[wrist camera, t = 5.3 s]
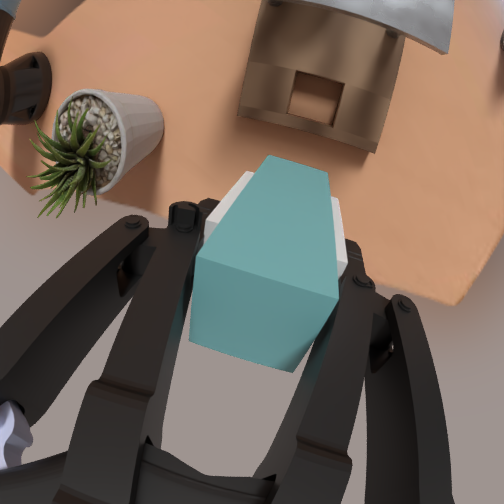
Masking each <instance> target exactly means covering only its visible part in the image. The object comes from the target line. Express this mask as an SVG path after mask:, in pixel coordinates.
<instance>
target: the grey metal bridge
mask: <svg viewBox="0 0 504 504" xmlns="http://www.w3.org/2000/svg"><path fill="white" fill-rule="evenodd" d="M267 1H268V3H269V4H270V5H271V6H274V7H277V6H280V5H281V4H282V3H283V1H284V2H291V3H297V4H302V5H307V6H312V7H317V8H321V9H325V10H330V11H333V12H337V13H341V14H344V15H348V16H351V17H354V18H358V19H361V20H364V21H367V22H370V23H373V24H375V25H378V26H381V27H383V28H386V33H387V34H388V36H390V37H391V38H398V37H399V36H401V35H403V36H405V37H407V38H410V39H412V40H414V41H416V42H418V43H420V44H422V45H424V46H426V47H428V48H430V49H432V50H434V51H436V52H438V53H439V54H441V55H445V54H448V50H449V44H450V37H451V30H452V22H453V12H454V0H267Z"/></svg>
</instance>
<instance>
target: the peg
mask: <svg viewBox="0 0 504 504" xmlns="http://www.w3.org/2000/svg"><path fill="white" fill-rule="evenodd" d="M338 300H339V289H338V270H337V255H336V243H335V231H334V221H333V211H332V203H331V194H330V186H329V179H328V173H327V172H324V171H321V170H318V169H315V168H312V167H309V166H306V165H302V164H299V163H296V162H292V161H289V160H286V159H282V158H279V157H275V156H271V155H268V156H267V158H266V159H265V160H264V162H263V163H262V164H261V166H260V167H259V168H258V170H257V171H256V172H255V174H254V175H253V176H252V178H251V179H250V180H249V182H248V183H247V184H246V186H245V187H244V189H243V190H242V191H241V193H240V194H239V195H238V197H237V198H236V200H235V201H234V202H233V204H232V205H231V207H230V208H229V209H228V211H227V212H226V214H225V215H224V216H223V218H222V219H221V221H220V222H219V223H218V225H217V226H216V228H215V229H214V231H213V232H212V234H211V235H210V236H209V238H208V239H207V241H206V242H205V244H204V245H203V247H202V248H201V249H200V251H199V252H198V254H197V255H196V263H195V272H194V283H193V294H192V305H191V319H190V333H189V341H190V342H193V343H196V344H198V345H201V346H204V347H207V348H210V349H213V350H216V351H219V352H222V353H225V354H228V355H231V356H234V357H238V358H241V359H244V360H247V361H251V362H254V363H257V364H261V365H265V366H268V367H272V368H275V369H279V370H283V371H287V372H291V373H293V372H294V370H295V369H296V368H297V366H298V365H299V363H300V362H301V360H302V359H303V357H304V355H305V354H306V352H307V351H308V349H309V348H310V346H311V345H312V343H313V342H314V340H315V338H316V337H317V335H318V334H319V332H320V330H321V329H322V327H323V326H324V324H325V322H326V321H327V319H328V317H329V316H330V314H331V312H332V310H333V309H334V307H335V305H336V304H337V302H338Z"/></svg>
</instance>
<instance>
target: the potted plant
mask: <svg viewBox="0 0 504 504" xmlns="http://www.w3.org/2000/svg"><path fill="white" fill-rule="evenodd" d="M34 121H35V120H34ZM35 125H36V128H37V130H38V132H39V134H40V135H41V136H42V137H43V139H44V140H45V142H46V143H45V142H43V141H42V139H41V138H40V136H39V134H38V132H37V135H38V138H39V140H40V142H41V143H42V144H43V146H44V147H45V148H46V149H47V150H49V151H50V152H51V153H48V152H45V151H44V150H42V149H41V148H40V147H38V146H37V145H36V144H35V143H33V141H32V140H31V139H30V138H29V139H30V141H31V143H32V144H33V146H34V148H35V149H36V150H37V151H38V152H39V153H40V154H41V155H42V156H44V157H46V158H48V159H50V160H51V161H55V162H56V165H54V166H50V165H48V164H46V163H45V162H43V161H42V160H41V162H42V163H43V164H44V165H46V166H47V167H48V168H49V169H48V170H46V171H45V172H43V173H40V174H38V175H34V176H26V177H33V178H35V177H40V179H41V180H49V181H48V182H46V183H44V184H41V185H37V186H33V187H30V188H31V189H43V188H47V187H50V186H52V187H51V189H52V188H53V187H54V186H55V185H57V187H56V188H55V189H54V190H53V191H52V193H50V194H49V195H48V196H46V197H45V198H43V199H46V198H48V197H50V196H52V195H53V194H54V195H53V197H52V198H51V199H50V201H49V202H48V203H47V204H46V206H45V207H44V208H43V210H42V211H41V212H40V214H39V216H40V215H41V214H42V213H43V212H44V211H45V210H46V209H47V208H48V207H49V206H50V205H52V204H53V203H54V202H55V201H56V200H57V201H56V202H55V204H54V206H53V207H52V208H51V210H50V211H49V212H48V214H47V216H48V215H49V214H50V213H51V212H52V211H53V210H54V209H55V208H56V207H57V206H58V205H59V204H60V203H61V202H62V201H63V202H62V203H61V205H60V207H61V206H62V205H63V206H62V208H61V210H60V212H59V213H58V215H57V217H58V216H59V215H60V214H61V212H62V211H63V209H64V207H65V206H66V204H67V202H68V201H69V199H70V198H71V196H72V194H73V193H74V191H75V189H76V205H75V211H76V209H77V206H78V202H79V198H80V194H83V208H84V207H85V202H86V194H87V195H91V196H93V195H94V198H95V204H96V205H97V198H96V195H101V194H103V193H105V192H107V191H109V190H110V189H111V188H112V187H113V186H114V185H116V184H117V183H118V182H119V181H120V180H121V179H122V178H123V176H124V175H125V173H127V172H128V171H129V170H130V169H131V168H132V167H134V166H135V165H136V164H137V163H138V162H140V161H141V160H142V159H143V158H145V157H146V156H147V155H148V154H150V153H151V152H152V151H153V150H154V149H155V147H156V146H157V145H158V143H159V142H160V140H161V138H162V135H163V130H164V120H163V116H162V112H161V110H160V109H159V107H158V105H157V104H156V103H155V102H154V101H153V100H151V99H149V98H147V97H144V96H140V95H133V94H125V93H116V92H107V91H104V90H99V89H82V90H79V91H76V92H74V93H73V94H71V95H70V96H69V97H67V98H66V99H65V101H64V102H63V103H62V105H61V106H60V108H59V110H57V114H56V116H55V120H54V123H53V130H52V139H50V138H49V137H48V136H46V135H45V134H44V133H43V132H42V131H41V130H40V129H39V127H38V125H37V123H36V121H35ZM49 174H51V175H49ZM46 175H49V176H46ZM42 176H44V177H42ZM43 199H41V200H40V201H42V200H43ZM75 211H74V212H75ZM39 216H38V217H39ZM57 217H56V218H57Z"/></svg>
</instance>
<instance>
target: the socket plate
mask: <svg viewBox="0 0 504 504" xmlns="http://www.w3.org/2000/svg"><path fill="white" fill-rule="evenodd" d="M404 42H405V36H403V35H401V36H399V37H398V38H391V37H390V36H388V34H387V33H386V28H383V27H381V26H378V25H375V24H373V23H370V22H367V21H364V20H361V19H358V18H354V17H351V16H348V15H344V14H341V13H337V12H333V11H330V10H325V9H321V8H317V7H312V6H307V5H302V4H297V3H291V2H284V1H283V3H282V4H281V5H280V6H277V7H274V6H271V5H270V4H269V3H268V1H267V0H262V1H261V5H260V9H259V14H258V18H257V22H256V26H255V31H254V35H253V40H252V44H251V49H250V54H249V58H248V63H247V68H246V73H245V78H244V83H243V88H242V93H241V98H240V103H239V108H238V114H237V116H241V117H246V118H251V119H256V120H261V121H265V122H270V123H274V124H279V125H283V126H287V127H291V128H295V129H299V130H302V131H306V132H310V133H313V134H317V135H320V136H323V137H327V138H330V139H333V140H336V141H340V142H343V143H346V144H349V145H352V146H355V147H358V148H360V149H363V150H366V151H369V152H371V153H374V154H375V152H376V149H377V146H378V142H379V139H380V136H381V133H382V129H383V126H384V123H385V119H386V116H387V112H388V109H389V105H390V101H391V98H392V94H393V90H394V86H395V82H396V78H397V74H398V70H399V65H400V61H401V56H402V52H403V47H404ZM297 72H300V73H304V74H308V75H312V76H316V77H320V78H323V79H327V80H330V81H334V82H337V83H340V84H343V86H342V90H341V94H340V98H339V102H338V106H337V110H336V114H335V117H334V121H333V125H329V124H325V123H322V122H318V121H315V120H311V119H308V118H304V117H300V116H296V115H292V114H288V110H289V106H290V102H291V97H292V93H293V89H294V84H295V80H296V76H297Z"/></svg>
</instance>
